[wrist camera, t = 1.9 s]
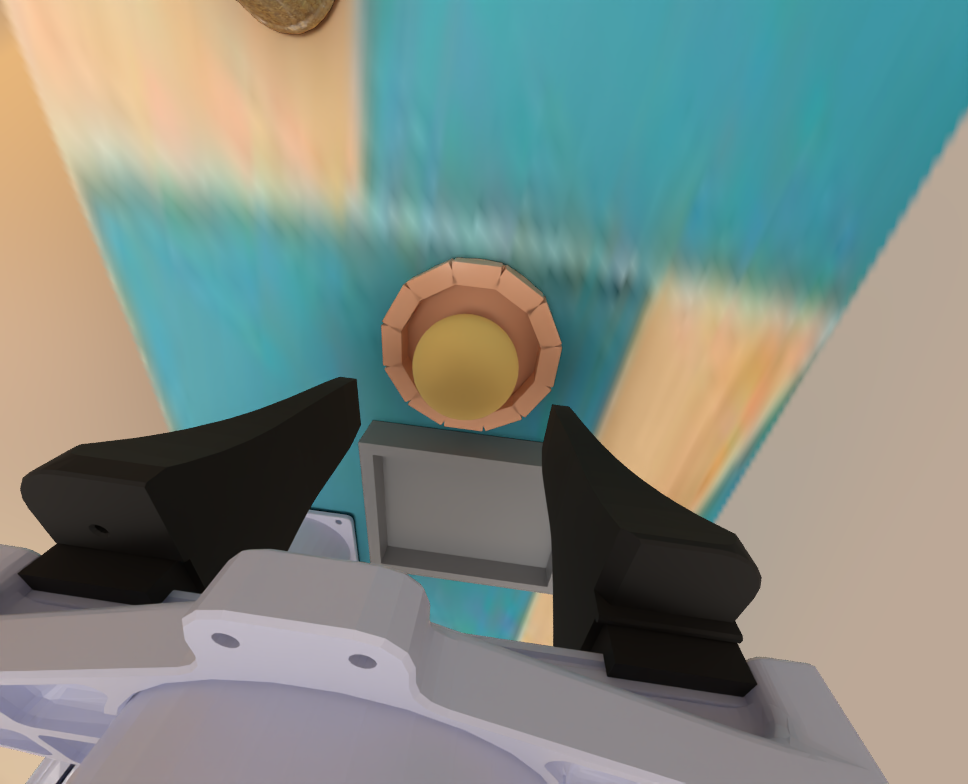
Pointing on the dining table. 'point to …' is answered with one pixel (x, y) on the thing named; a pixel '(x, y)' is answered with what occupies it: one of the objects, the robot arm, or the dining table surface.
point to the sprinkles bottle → (288, 13)
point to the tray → (456, 506)
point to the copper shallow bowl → (485, 295)
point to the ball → (465, 367)
